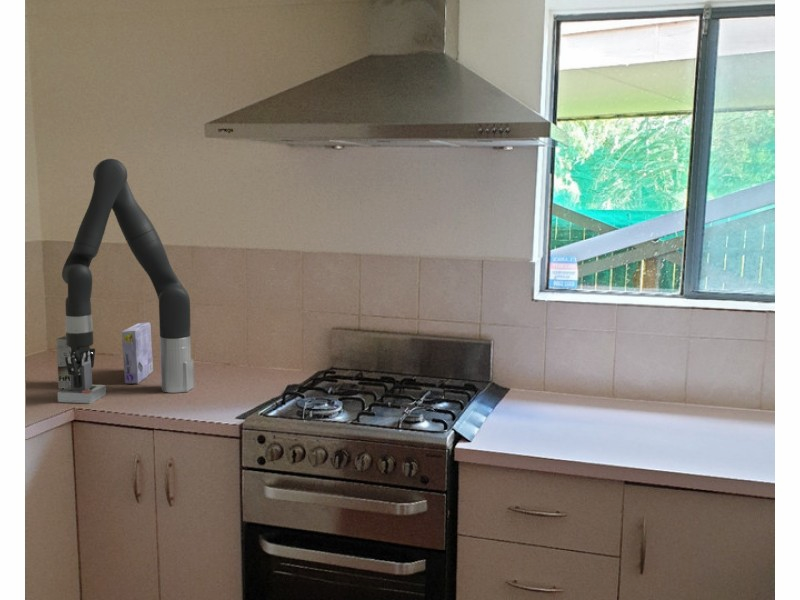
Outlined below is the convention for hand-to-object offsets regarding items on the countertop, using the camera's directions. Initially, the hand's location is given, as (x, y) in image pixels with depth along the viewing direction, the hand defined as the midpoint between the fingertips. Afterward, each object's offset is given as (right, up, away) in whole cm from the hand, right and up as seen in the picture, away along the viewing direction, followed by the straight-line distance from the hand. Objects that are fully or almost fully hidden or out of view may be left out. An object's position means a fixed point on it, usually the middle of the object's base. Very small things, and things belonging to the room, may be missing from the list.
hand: (82, 385), depth 232 cm
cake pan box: (+8, -1, +27) cm, 28 cm away
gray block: (0, -3, 0) cm, 3 cm away
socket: (0, -4, +1) cm, 4 cm away
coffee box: (-9, -2, +15) cm, 18 cm away
